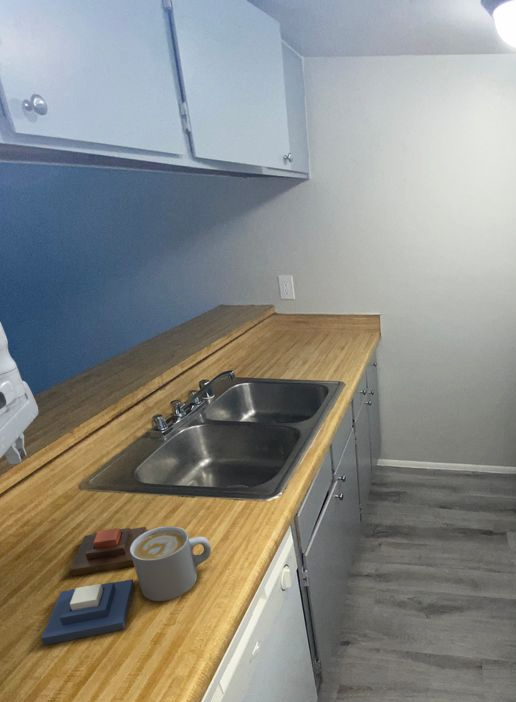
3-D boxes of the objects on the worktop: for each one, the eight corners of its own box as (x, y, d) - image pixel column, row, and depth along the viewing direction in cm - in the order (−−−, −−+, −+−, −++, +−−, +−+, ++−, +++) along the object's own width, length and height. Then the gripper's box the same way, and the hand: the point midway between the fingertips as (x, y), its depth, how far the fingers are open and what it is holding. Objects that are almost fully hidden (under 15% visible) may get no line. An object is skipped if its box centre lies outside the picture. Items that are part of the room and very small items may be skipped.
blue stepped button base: (44, 645, 79) (37, 630, 78) (63, 598, 89) (58, 584, 87) (124, 629, 83) (119, 615, 81) (134, 585, 92) (130, 571, 91)
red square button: (95, 549, 96) (93, 542, 96) (100, 537, 100) (97, 530, 99) (117, 546, 98) (115, 539, 97) (121, 534, 101) (119, 527, 100)
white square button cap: (72, 611, 82) (69, 604, 81) (78, 595, 86) (75, 587, 85) (98, 606, 83) (95, 599, 83) (103, 590, 87) (101, 583, 86)
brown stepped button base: (72, 576, 94) (67, 562, 92) (86, 541, 103) (82, 529, 101) (139, 565, 97) (135, 551, 96) (147, 532, 106) (144, 520, 105)
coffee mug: (140, 606, 88) (127, 565, 83) (143, 571, 96) (132, 532, 91) (216, 588, 92) (208, 548, 88) (213, 556, 100) (206, 518, 96)
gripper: (-7, 368, 86) (19, 436, 92) (-67, 413, 68) (-30, 492, 75) (34, 366, 87) (57, 433, 94) (-14, 409, 70) (18, 487, 77)
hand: (18, 460), depth 84 cm, fingers closed
